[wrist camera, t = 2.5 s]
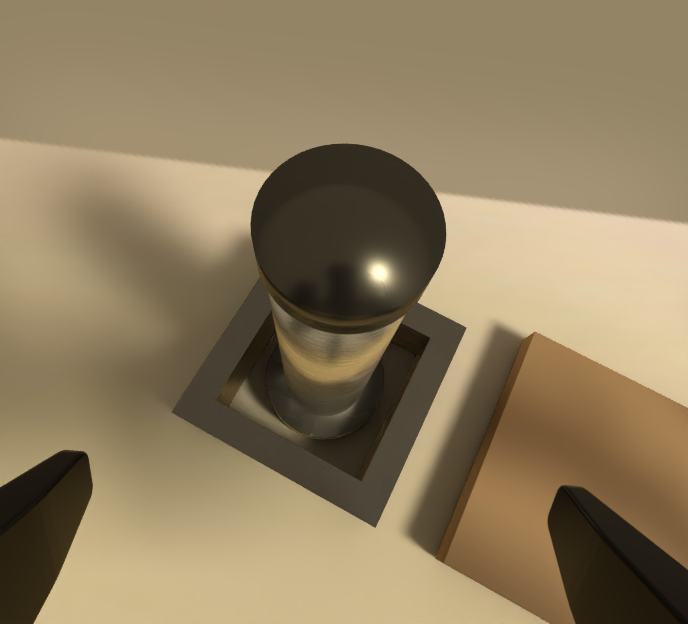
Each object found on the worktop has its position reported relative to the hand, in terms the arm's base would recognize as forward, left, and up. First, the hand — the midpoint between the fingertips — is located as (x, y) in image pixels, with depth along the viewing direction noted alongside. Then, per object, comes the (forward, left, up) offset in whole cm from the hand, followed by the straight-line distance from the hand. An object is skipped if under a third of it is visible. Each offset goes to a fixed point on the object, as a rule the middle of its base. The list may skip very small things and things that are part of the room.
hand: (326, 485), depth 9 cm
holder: (+4, +2, -10) cm, 11 cm away
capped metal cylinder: (+4, +2, -10) cm, 11 cm away
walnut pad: (+5, -10, -10) cm, 16 cm away
